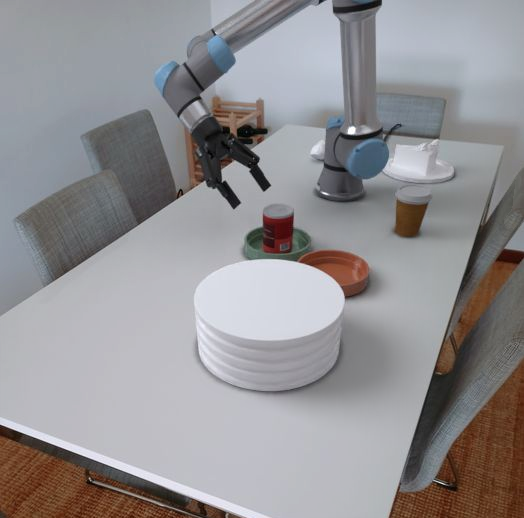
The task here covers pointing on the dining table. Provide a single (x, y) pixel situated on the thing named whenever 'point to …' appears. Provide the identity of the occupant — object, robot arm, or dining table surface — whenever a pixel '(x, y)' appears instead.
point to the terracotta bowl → (340, 268)
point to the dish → (418, 164)
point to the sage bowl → (256, 252)
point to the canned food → (278, 228)
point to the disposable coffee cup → (411, 209)
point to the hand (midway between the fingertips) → (253, 197)
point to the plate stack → (269, 323)
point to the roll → (318, 150)
